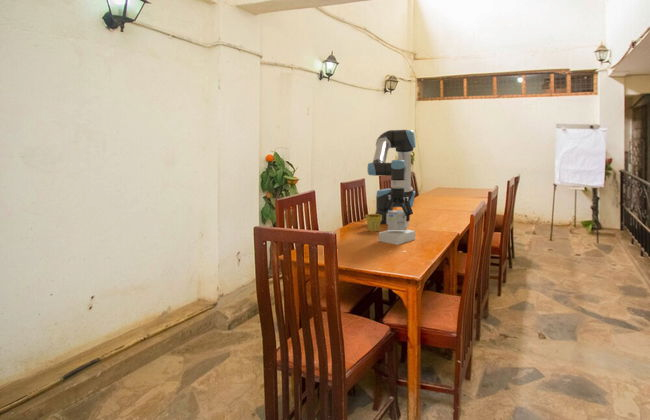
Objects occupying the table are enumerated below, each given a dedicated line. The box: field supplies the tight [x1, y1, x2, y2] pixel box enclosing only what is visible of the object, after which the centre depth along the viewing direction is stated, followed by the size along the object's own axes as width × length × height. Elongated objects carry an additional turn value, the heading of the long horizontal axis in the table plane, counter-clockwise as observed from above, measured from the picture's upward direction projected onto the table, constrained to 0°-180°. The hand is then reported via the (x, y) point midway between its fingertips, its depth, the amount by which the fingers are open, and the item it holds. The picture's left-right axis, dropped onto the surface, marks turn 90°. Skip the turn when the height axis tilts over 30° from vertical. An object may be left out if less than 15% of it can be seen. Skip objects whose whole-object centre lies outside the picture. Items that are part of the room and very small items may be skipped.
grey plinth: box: [378, 229, 416, 246], centre depth 230 cm, size 13×17×5 cm
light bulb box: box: [387, 209, 408, 230], centre depth 228 cm, size 11×7×11 cm, turn 84°
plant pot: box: [365, 213, 382, 232], centre depth 257 cm, size 10×10×10 cm
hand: (397, 225), depth 229 cm, fingers closed on light bulb box, 12 cm apart
